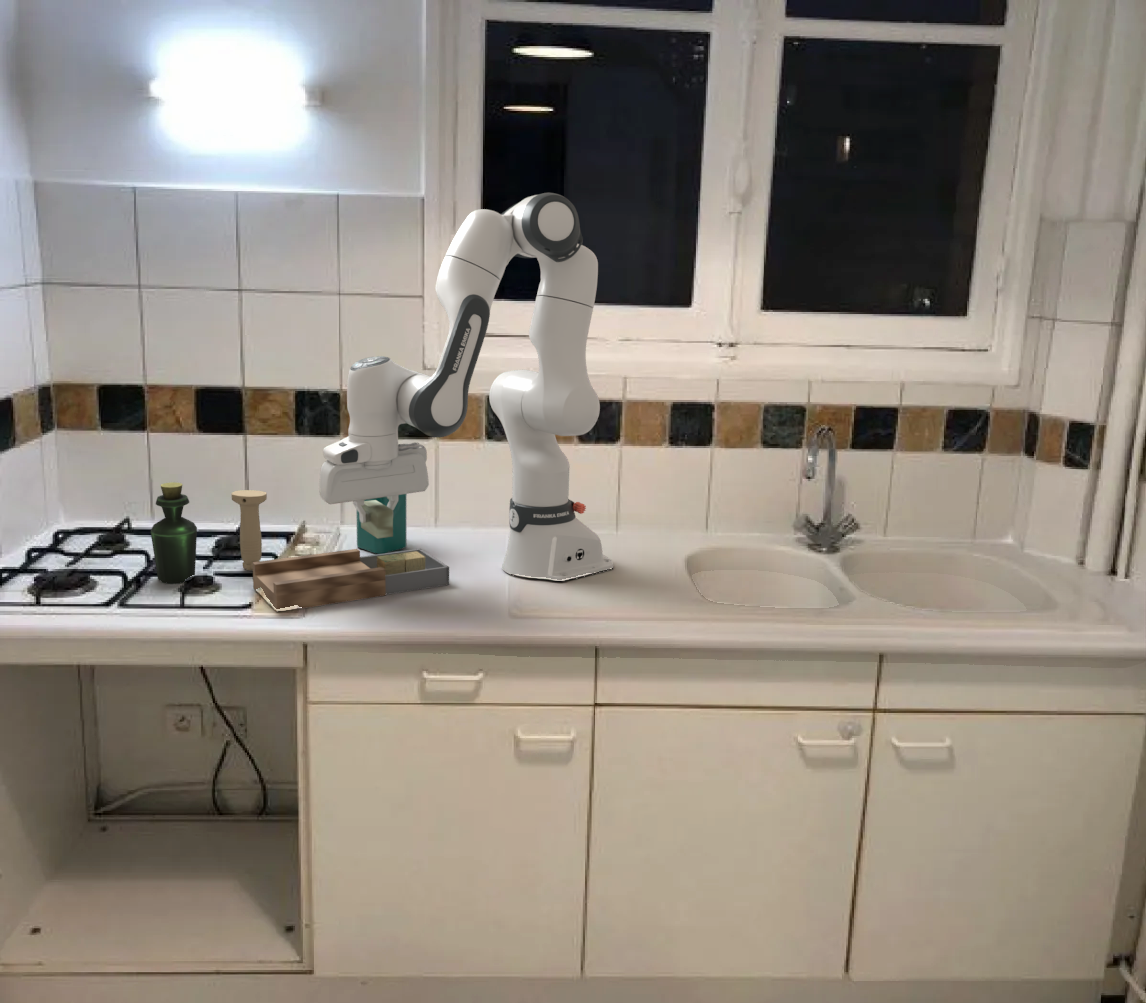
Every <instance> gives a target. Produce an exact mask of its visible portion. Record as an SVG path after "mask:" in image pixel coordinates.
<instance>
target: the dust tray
mask: <svg viewBox="0 0 1146 1003" xmlns="http://www.w3.org/2000/svg"><path fill="white" fill-rule="evenodd" d="M415 551H417V552H419V553H420V554H422V555H423V556H425V570H418V571H411V572H404V573H397V574H390V575H385V586H386V595H392V594H397V593H405V592H411V591H417V590H423V589H429V588H430V589H431V588H436V587H437V588H438V587H443V586H449V585H450V566H448V565H447V564H446V563H444V562H442V561H441V560H439V559H437V558H436V557H435V556H433V555H431V554H430V553H429V552H427V551H425V550H423V549H422V548H416V549H407V550H401V551H399V550H398V551H392V552H388V553H384V554H371V555H370V554H369V555H363V556H360V561H361V562H362V563H364V564H365V565H366V566H368V567H369V568H370V569H372V568H377V556H385V555H392V554H400V553H408V552H415Z"/></svg>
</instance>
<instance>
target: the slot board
mask: <svg viewBox="0 0 1146 1003" xmlns="http://www.w3.org/2000/svg"><path fill="white" fill-rule="evenodd" d="M360 557H361V550H360V549H358V548H353V549H344V550H338V551H331V552H323V553H313V554H308V555H299V556H298V555H297V556H290V557H284V558H276V559H269V560H262V561H261V560H260V561H259V562H253V570H252V582H253V583H252V584H253V586H252V587H253V589H254V591H256V589H258V588H260V587H261V588H262V589H263V591H264V593H265V595H266V597H267V598H268V599H269V600H270V602H271V603H272V604H273V606H274V607H275V608H276V609H280V608H285V607H290V606H294V605H298V606H299V607H302V609H307V608H314V607H319V606H320V607H321V606H327V605H334V604H340V603H347V602H352V601H359V600H365V599H373V598H379V597H385V596H386V595H387V594H386V586H385V569H384V568H383V567H379V568H372V569H370V568H369V567H368V566H366V565H365V564H364V563H362V562H361V561H360Z"/></svg>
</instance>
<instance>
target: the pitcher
mask: <svg viewBox="0 0 1146 1003" xmlns="http://www.w3.org/2000/svg"><path fill="white" fill-rule="evenodd" d="M407 496H408V495H407V494H402V495H398V502H397V504H396V506H395V508H394V510H393V536H392V537H385V538H376V537H375V536H373V535H372V534H370V533H369V532H367V531H366V530H364V529H363V528H361V522H360V517H359V512H358V510H357V509H356V508H355V509H356V515H355V516H356V547H357V548H359V549H361V550H365V551H366V552H369V553H373V554H376V553H377V554H384V553H392V552H397V551H399V550H403V549H406V547H407V544H408V543H407V542H408V540H407V534H408V533H407V529H408V528H407V520H408V516H407V514H408V513H407V511H408V510H407V508H408V507H407V506H408V505H407V500H408V499H407ZM371 500H377V501H378V502H380V503H382V504H383V505H385V506H387V505H388V502H389V499H388V498H387V497H380V498H373V499H366V500H364V501H371ZM377 554H376V555H377Z"/></svg>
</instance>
